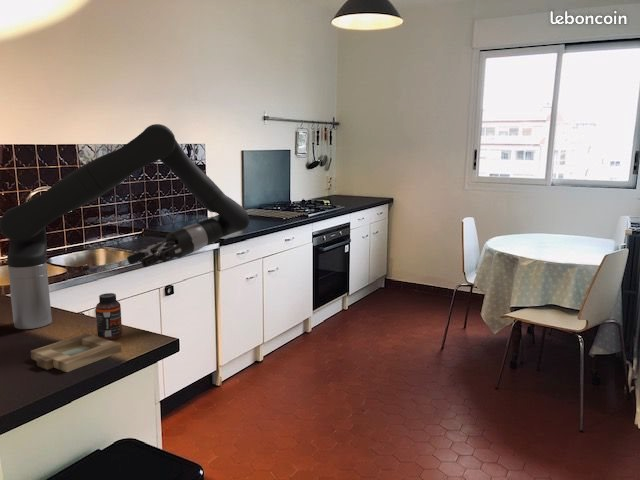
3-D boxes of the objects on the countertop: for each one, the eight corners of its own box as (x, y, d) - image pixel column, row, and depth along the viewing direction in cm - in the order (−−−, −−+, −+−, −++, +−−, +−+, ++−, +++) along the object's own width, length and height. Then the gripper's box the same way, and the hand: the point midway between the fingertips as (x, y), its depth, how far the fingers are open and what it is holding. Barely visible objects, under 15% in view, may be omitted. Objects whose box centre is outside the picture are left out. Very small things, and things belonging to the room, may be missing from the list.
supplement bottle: (113, 341, 132) (110, 298, 130) (92, 340, 133) (89, 297, 132) (127, 333, 138) (124, 292, 136) (106, 332, 139) (103, 291, 137)
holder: (24, 361, 120) (24, 352, 120) (85, 340, 133) (85, 333, 133) (60, 374, 113) (59, 366, 113) (121, 351, 126) (120, 343, 125)
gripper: (171, 227, 152) (119, 247, 142) (196, 228, 141) (142, 250, 131) (179, 250, 154) (128, 272, 144) (204, 254, 144) (151, 278, 133)
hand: (135, 262), depth 138 cm, fingers open, 8 cm apart
